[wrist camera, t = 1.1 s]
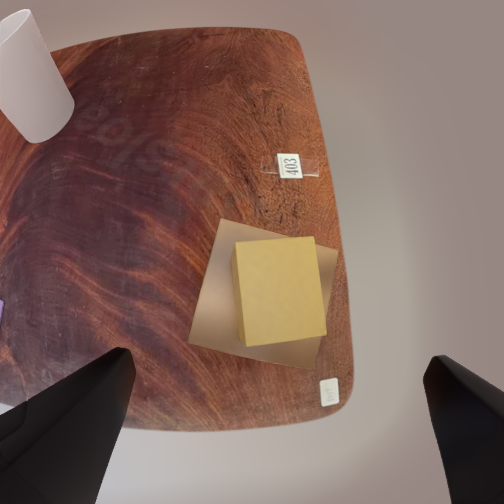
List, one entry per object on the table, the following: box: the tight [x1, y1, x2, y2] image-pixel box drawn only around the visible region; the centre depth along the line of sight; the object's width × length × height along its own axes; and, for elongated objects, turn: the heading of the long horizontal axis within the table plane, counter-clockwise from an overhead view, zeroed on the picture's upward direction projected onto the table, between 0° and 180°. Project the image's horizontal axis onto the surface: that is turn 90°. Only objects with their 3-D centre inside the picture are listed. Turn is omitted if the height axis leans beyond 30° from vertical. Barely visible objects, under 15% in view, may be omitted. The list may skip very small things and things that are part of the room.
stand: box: [187, 218, 338, 370], centre depth 22 cm, size 8×8×9 cm
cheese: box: [231, 236, 327, 347], centre depth 16 cm, size 5×4×4 cm
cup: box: [0, 9, 74, 143], centre depth 20 cm, size 8×8×16 cm
